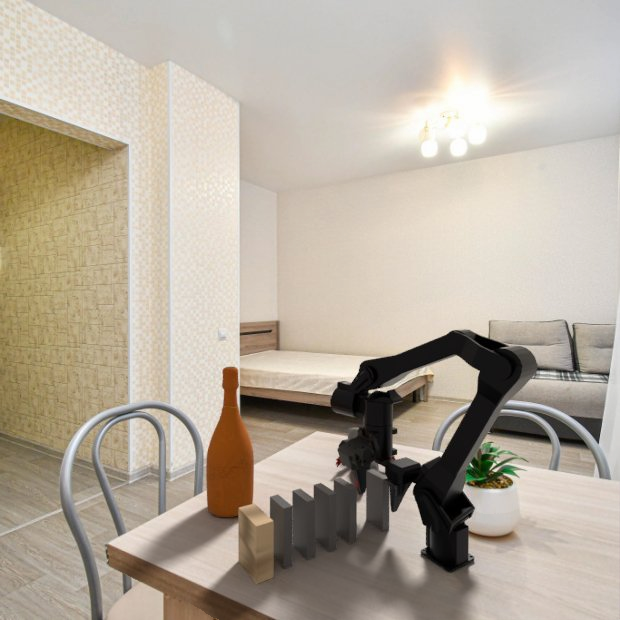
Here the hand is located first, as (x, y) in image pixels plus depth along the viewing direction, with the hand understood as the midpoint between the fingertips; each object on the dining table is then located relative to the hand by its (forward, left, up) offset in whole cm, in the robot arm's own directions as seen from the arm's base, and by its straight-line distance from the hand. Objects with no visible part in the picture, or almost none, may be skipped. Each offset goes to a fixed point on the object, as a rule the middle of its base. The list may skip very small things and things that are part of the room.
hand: (377, 501), depth 83 cm
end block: (0, +26, -4) cm, 27 cm away
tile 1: (0, 0, -4) cm, 4 cm away
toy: (+23, -16, -5) cm, 29 cm away
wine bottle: (+22, +22, -5) cm, 31 cm away
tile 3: (0, +13, -4) cm, 13 cm away
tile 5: (0, +22, -4) cm, 22 cm away
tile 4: (0, +17, -4) cm, 18 cm away
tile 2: (0, +8, -4) cm, 9 cm away
